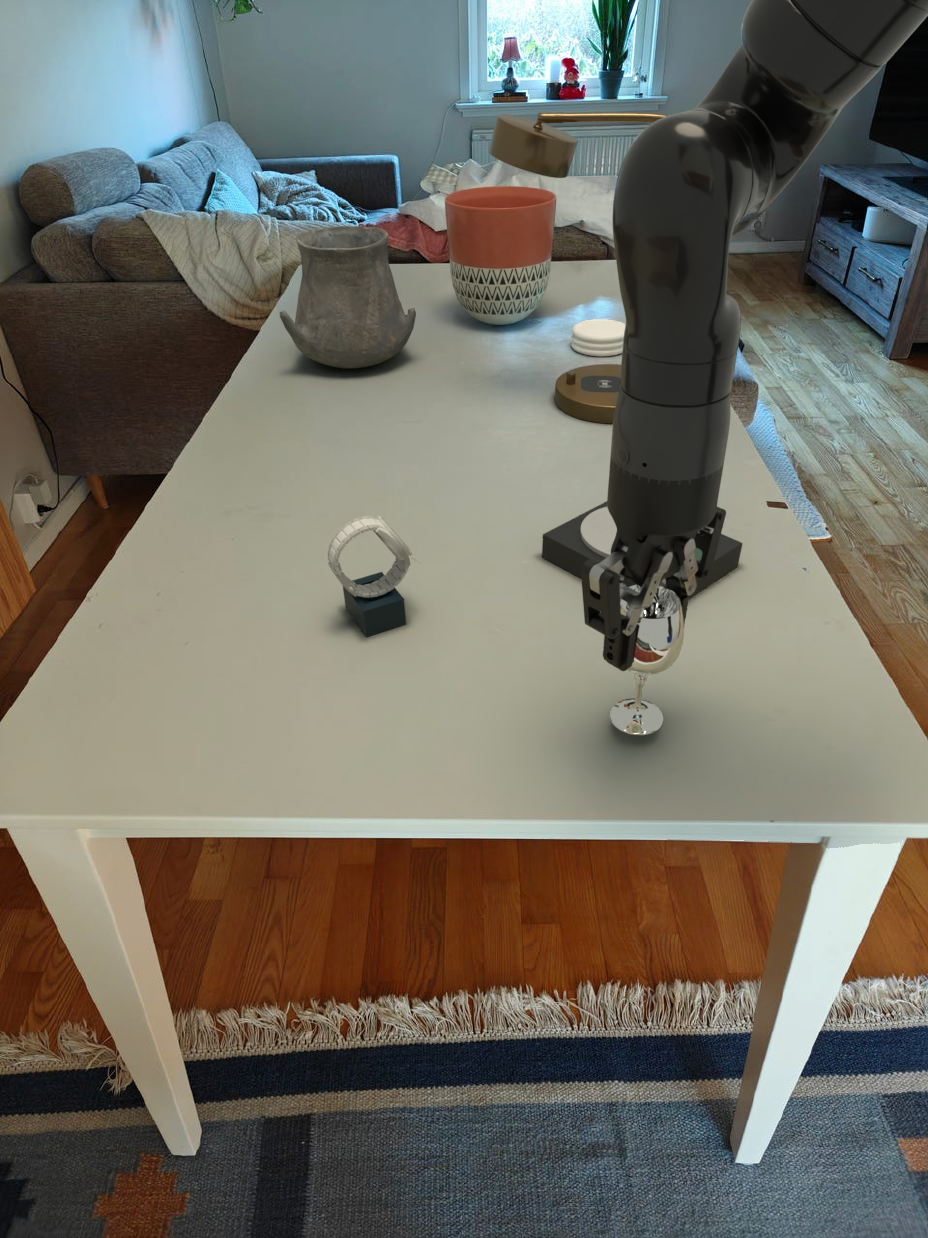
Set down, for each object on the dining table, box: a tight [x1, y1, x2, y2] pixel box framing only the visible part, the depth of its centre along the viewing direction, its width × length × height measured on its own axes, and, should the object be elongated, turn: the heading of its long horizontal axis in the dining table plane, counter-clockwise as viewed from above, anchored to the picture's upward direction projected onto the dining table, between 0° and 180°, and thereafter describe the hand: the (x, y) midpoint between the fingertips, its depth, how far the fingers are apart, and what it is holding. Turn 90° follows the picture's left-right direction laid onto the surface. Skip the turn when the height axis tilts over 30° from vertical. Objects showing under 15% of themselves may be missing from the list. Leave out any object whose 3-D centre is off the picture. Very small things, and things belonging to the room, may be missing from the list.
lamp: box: [488, 111, 669, 425], centre depth 118 cm, size 17×27×38 cm, turn 83°
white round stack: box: [570, 318, 626, 357], centre depth 147 cm, size 10×10×4 cm
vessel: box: [279, 225, 417, 369], centre depth 141 cm, size 22×22×20 cm
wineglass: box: [609, 585, 685, 736], centre depth 68 cm, size 6×6×12 cm
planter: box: [444, 185, 557, 326], centre depth 155 cm, size 20×20×21 cm
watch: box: [327, 514, 413, 638], centre depth 83 cm, size 6×8×11 cm
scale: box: [541, 500, 743, 599], centre depth 92 cm, size 16×14×4 cm
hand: (644, 646), depth 67 cm, fingers closed on wineglass, 5 cm apart
